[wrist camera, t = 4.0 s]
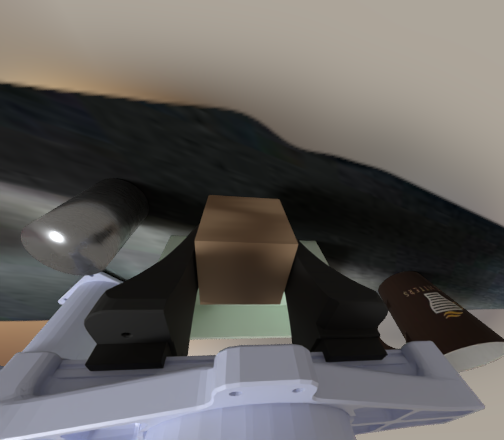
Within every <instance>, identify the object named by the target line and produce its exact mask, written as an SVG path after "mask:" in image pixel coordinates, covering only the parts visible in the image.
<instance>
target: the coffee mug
mask: <svg viewBox="0 0 504 440" xmlns="http://www.w3.org/2000/svg"><path fill="white" fill-rule="evenodd" d="M378 292H379V294H380V296H381V298H382V299H383V301H384V303H385V304H386V306H387V308H388V310H389V312H390V313H391V315H392V317H393V319H394V320H395V322H396V324H397V326H398V327H399V329H400V331H401V333H402V334H403V336H404V338H405V340H406V343H408V342H412V341H432V342H433V343H434V344H435V345H436V346H437V348H438V349H439V350H440V351H441V353H442V354H443V355H444V356H445V357H446V359H447V360H448V361H449V362H450V364H451V365H452V366H453V367H454V369H455V370H456V371H457V372H458V373H460V372H464V371H468V370H472V369H475V368H478V367H481V366H484V365H486V364H489V363H491V362H494V361H496V360H498V359H500V358H501V357H503V356H504V339H503V338H502V337H500V336H499V335H498V334H497V333H495V332H494V331H493V330H491V329H490V328H489V327H487V326H486V325H485V324H484V323H482V322H481V321H480V320H478V319H477V318H476V317H475V316H473V315H472V314H471V313H469V312H468V311H467V310H466V309H464V308H463V307H462V306H460V305H459V304H458V303H456V302H455V301H454V300H453V299H451V298H450V297H449V296H447V295H446V294H445V293H444V292H442V291H441V290H440V289H438V288H437V287H436V286H434V285H433V284H432V283H431V282H429V281H428V280H427V279H425V278H424V277H423V276H422V275H420V274H419V273H417V272H414V271H405V272H400V273H397V274H395V275H393V276H391V277H389V278H387V279H386V280H385V281H384V282H382V284H381V285H380V287H379V289H378ZM377 330H378V327H377ZM378 339H379V340H380V342H381V344H382V345H383V347H384V349H385V350H394V349H395V348H392V347H390V346H388V345H387V344H385V343H384V342H383V341H382V340H381V339H380V337H378Z"/></svg>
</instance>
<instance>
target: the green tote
mask: <svg viewBox="0 0 504 440" xmlns="http://www.w3.org/2000/svg"><path fill="white" fill-rule="evenodd" d="M186 237H187V236H171V237H170V239H169V241H168V243H167V245H166V247H165V249H164V251H163V253H162V255H161V257H160V259H159V261H160V260H162V259H163V258H164V257H166V256H167V255H168V254H169V253H170V252H172V251H173V250H174V249H175V248H176V247H177V246H178V245H179V244H180V243H181V242H182V241H183V240H184V239H185V238H186ZM299 241H300V242H301V243H302V244H303V245H304V246H305V247H306V248H307V249H308V250H309V251H311V252H312V253H313V254H314V255H315V256H316V257H318V258H319V259H320V260H321V261H323V262H324V263H325V264H327V265H328V263H327V261H326V259H325V257H324V255H323V254H322V252H321V250H320V248H319V246H318V245H317V243H316V241H301V240H299ZM159 261H158V262H159ZM328 266H329V265H328ZM239 338H241V339H242V338H292V337H291V329H290V322H289V315H288V309H287V303H286V297H285V292H284V293H283V297H282V300H281V303H280V304H269V305H200V297H199V288H198V292H197V297H196V302H195V308H194V314H193V321H192V327H191V334H190V339H191V340H192V339H239Z"/></svg>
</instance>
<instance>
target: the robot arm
mask: <svg viewBox="0 0 504 440" xmlns="http://www.w3.org/2000/svg"><path fill="white" fill-rule="evenodd" d="M198 228H199V225H197V226H196V227H195V228H194V229H193V230H192V232H191V233H190V234H189V235H188V236H187V237H186V238H185V239H184V240H183V241H182V242H181V243H180V244H179V245H178V246H177V247H176V248H175V249H174V250H173V251H172V252H170V253H169V254H168V255H167V256H166V257H164V258H163V259H162V260H160V261H159V262H157V263H156V264H154V265H153V266H151V267H150V268H148V269H147V270H145V271H143V272H142V273H140V274H138V275H136V276H135V277H133V278H131V279H129V280H127V281H125V282H122V281H120V280H118V279H116V278H114V277H112V276H110V275H108V274H106V273H104V272H102V271H101V272H99V273H97V274H93V275H85V276H84V277H83V278H82V279H80V280H79V281H78V282H77V283H76V284H75V285H74V286H73V287H72V288H71V289H70V290H69V291H68V292H67V293H66V294H65V295H64V296H63V297H61V298H60V299H59V301H58V303H60V304H62V306H61V307H60V309H59V310H58V311H57V312H56V313H55V314H54V315H53V317H52V318H51V319H50V320H49V321H48V322H47V324H46V325H45V326H44V327H43V328H42V329H41V331H40V332H39V333H38V334H37V335H36V336H35V337H34V339H33V340H32V341H31V342H30V343H29V344H28V346H27V347H26V348H25V349H24V350H23V351H22V352H18V353H16V354H15V355H14V356H13V358H12V359H11V360H10V361H9V362H8V363H7V364H6V366H5V367H4V366H0V440H356V437H355V435H357V434H364V433H371V432H379V431H385V430H392V429H400V428H407V427H414V426H424V425H434V424H444V423H447V422H450V421H453V420H456V419H458V418H461V417H464V416H466V415H469V414H472V413H475V412H477V411H480V410H483V409H485V406H484V404H483V403H482V402H481V401H480V399H479V398H478V397H477V396H476V394H475V393H474V392H473V391H472V389H471V388H470V387H469V386H468V385H467V383H466V382H465V381H464V380H463V379H462V377H461V376H460V375H459V374H458V372H457V371H456V370H455V369H454V367H453V366H452V365H451V364H450V362H449V361H448V360H447V359H446V357H445V356H444V355H443V354H442V353H441V351H440V350H439V349H438V348H437V346H436V345H435V344H434V343H433V342H432V341H412V342H408V343H406V344H405V345H403V346H402V348H401V349H394V350H385V349H384V347H383V345H382V344H381V342H380V340H379V339H378V337H380V333H379V332H378V330H377V327H378V325H379V324H380V323H381V322H382V321H383V320H384V319H385V317H386V316H387V313H388V308H387V306H386V304H385V303H384V302H383V300H382V299H381V298H380V296H379V295H378V294H377V292H376V291H374V290H372V289H370V288H367V287H365V286H363V285H361V284H359V283H357V282H355V281H353V280H351V279H349V278H348V277H346V276H344V275H342V274H341V273H339V272H337V271H336V270H334V269H333V268H331V267H330V266H328V265H327V264H325V263H324V262H323V261H321V260H320V259H319V258H318V257H316V256H315V255H314V254H313V253H312V252H311V251H309V250H308V249H307V248H306V247H305V246H304V245H303V244H302V243H301V242H300V241H299V240H298V239H297V238H296V237H295V238H296V240H297V242H298V247H297V251H296V254H295V257H294V261H293V264H292V267H291V270H290V274H289V277H288V280H287V284H286V287H285V290H284V292H285V297H286V303H287V309H288V315H289V322H290V329H291V337H292V344H277V345H276V344H275V345H240V346H233V347H227V348H225V349H223V350H221V351H220V352H219V353H218V354H217V355H209V356H187V355H188V348H189V340H190V334H191V327H192V321H193V314H194V308H195V302H196V297H197V292H198V288H199V286H198V275H197V263H196V252H195V238H196V234H197V231H198Z"/></svg>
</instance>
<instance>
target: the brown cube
mask: <svg viewBox="0 0 504 440" xmlns="http://www.w3.org/2000/svg"><path fill="white" fill-rule="evenodd" d="M297 247H298V242H297V240H296V238H295V235H294V233H293V231H292V228H291V226H290V223H289V221H288V219H287V216H286V214H285V212H284V209H283V207H282V205H281V202H280V200H279V199H266V198H250V197H233V196H217V195H209V196H208V199H207V203H206V206H205V209H204V212H203V215H202V218H201V222H200V225H199V228H198V231H197V234H196V238H195V252H196V263H197V275H198V286H199V297H200V305H269V304H280V303H281V300H282V297H283V293H284V290H285V287H286V284H287V280H288V277H289V274H290V270H291V267H292V264H293V261H294V257H295V254H296V251H297Z"/></svg>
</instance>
